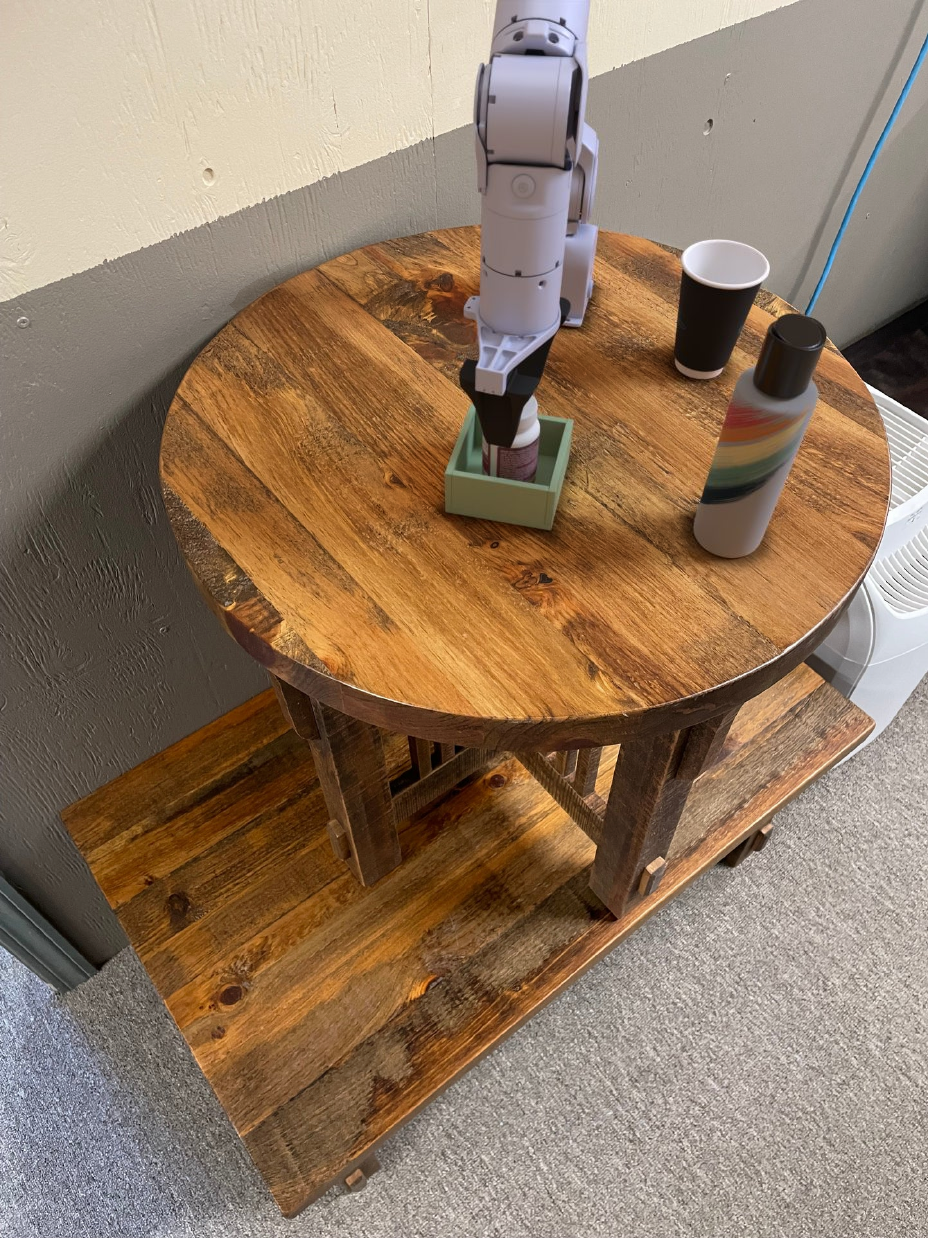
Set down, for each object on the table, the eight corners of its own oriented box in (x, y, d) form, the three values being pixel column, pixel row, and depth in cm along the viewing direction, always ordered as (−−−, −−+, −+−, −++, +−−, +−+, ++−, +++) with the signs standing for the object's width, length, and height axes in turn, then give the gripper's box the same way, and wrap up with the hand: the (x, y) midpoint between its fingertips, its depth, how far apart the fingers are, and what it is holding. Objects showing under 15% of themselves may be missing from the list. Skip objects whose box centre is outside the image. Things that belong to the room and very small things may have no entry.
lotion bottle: (722, 500, 75) (792, 291, 59) (774, 538, 72) (862, 329, 56) (677, 530, 73) (737, 321, 57) (729, 570, 70) (807, 363, 54)
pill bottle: (545, 476, 76) (553, 399, 69) (516, 507, 74) (521, 430, 67) (501, 454, 78) (504, 377, 71) (470, 484, 75) (471, 407, 69)
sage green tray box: (568, 458, 78) (573, 419, 75) (550, 530, 73) (555, 492, 69) (470, 442, 80) (470, 403, 76) (445, 512, 74) (444, 473, 70)
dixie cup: (643, 352, 88) (663, 250, 79) (708, 333, 90) (734, 231, 81) (688, 397, 83) (714, 294, 75) (755, 375, 86) (788, 273, 77)
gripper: (496, 195, 64) (491, 351, 75) (431, 301, 56) (436, 460, 66) (589, 210, 63) (571, 367, 73) (537, 321, 54) (524, 480, 65)
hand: (512, 413), depth 70 cm, fingers open, 7 cm apart
